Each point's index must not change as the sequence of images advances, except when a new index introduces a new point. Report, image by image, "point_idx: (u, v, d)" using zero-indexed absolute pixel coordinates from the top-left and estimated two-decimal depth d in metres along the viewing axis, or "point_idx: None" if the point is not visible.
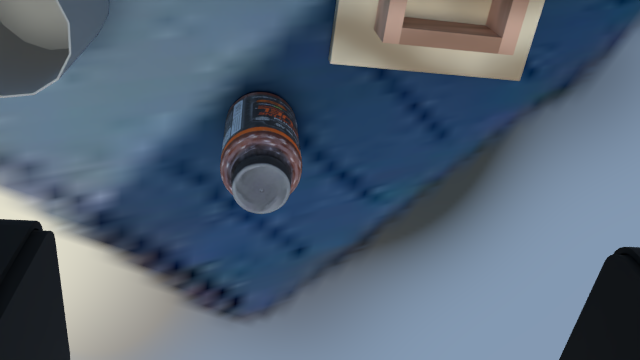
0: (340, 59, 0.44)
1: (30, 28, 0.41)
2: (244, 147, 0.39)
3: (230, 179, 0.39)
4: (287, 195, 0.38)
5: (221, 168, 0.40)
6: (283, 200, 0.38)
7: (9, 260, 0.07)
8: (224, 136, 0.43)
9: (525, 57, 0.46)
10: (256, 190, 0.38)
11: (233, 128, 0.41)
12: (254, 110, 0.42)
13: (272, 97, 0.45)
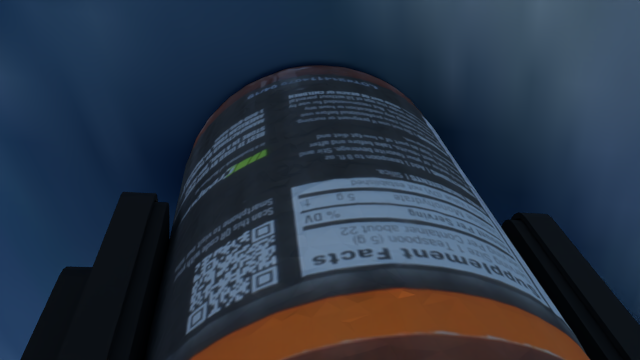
0: None
1: None
2: None
3: None
4: None
5: None
6: None
7: (144, 225, 0.08)
8: (418, 170, 0.08)
9: None
10: None
11: (523, 262, 0.07)
12: None
13: None
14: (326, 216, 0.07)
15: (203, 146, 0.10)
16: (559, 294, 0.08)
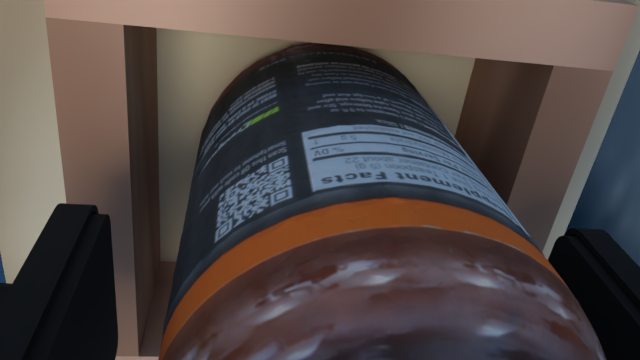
0: None
1: None
2: None
3: None
4: None
5: (442, 268, 0.06)
6: None
7: (75, 240, 0.08)
8: (411, 122, 0.09)
9: None
10: None
11: (500, 199, 0.09)
12: None
13: None
14: (332, 151, 0.08)
15: (219, 111, 0.12)
16: (627, 315, 0.08)
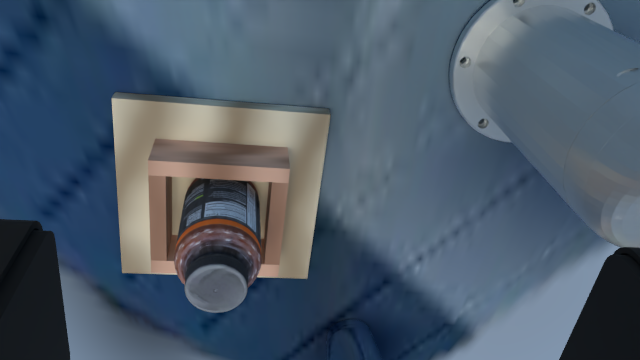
0: (118, 108, 0.41)
1: None
2: (249, 254, 0.37)
3: (212, 244, 0.36)
4: (209, 311, 0.37)
5: (220, 230, 0.37)
6: (203, 308, 0.36)
7: (9, 260, 0.07)
8: (232, 199, 0.40)
9: (146, 272, 0.49)
10: (216, 286, 0.36)
11: (249, 217, 0.40)
12: (259, 222, 0.42)
13: None
14: (210, 208, 0.39)
15: (189, 191, 0.43)
16: None
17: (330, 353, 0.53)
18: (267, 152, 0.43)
